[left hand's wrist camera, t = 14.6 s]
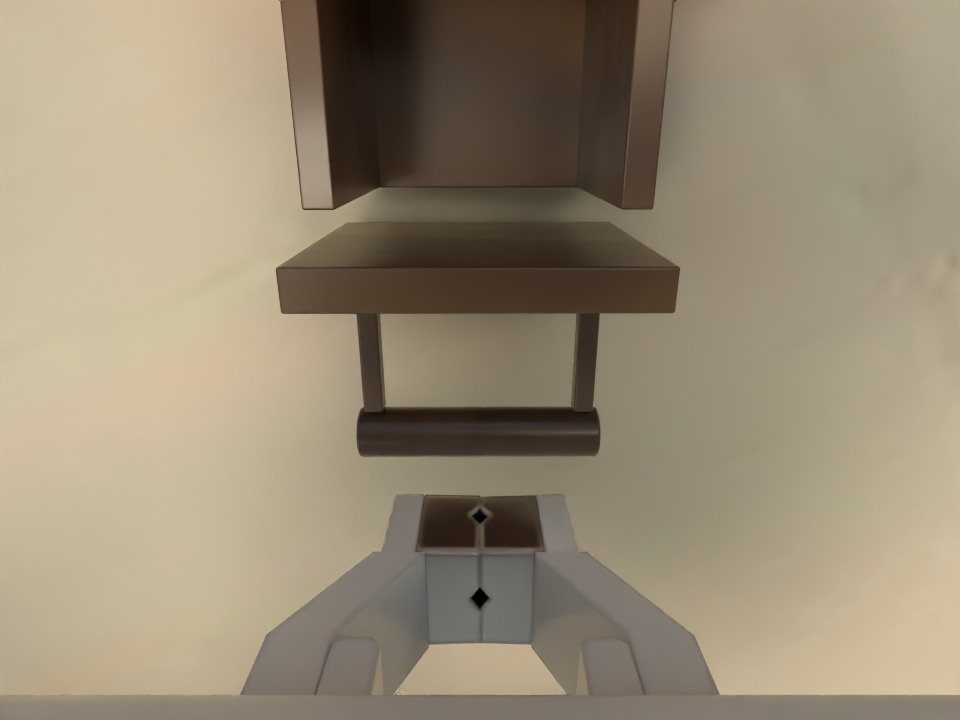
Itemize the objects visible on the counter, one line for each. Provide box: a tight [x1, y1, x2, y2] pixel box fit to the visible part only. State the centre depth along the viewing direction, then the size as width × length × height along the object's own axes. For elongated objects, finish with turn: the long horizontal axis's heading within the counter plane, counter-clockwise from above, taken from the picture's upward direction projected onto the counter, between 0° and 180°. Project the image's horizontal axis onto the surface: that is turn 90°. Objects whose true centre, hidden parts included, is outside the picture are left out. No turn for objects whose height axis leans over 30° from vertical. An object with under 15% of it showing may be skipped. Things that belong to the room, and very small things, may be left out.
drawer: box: [276, 0, 680, 457], centre depth 16 cm, size 24×10×8 cm, turn 0°
